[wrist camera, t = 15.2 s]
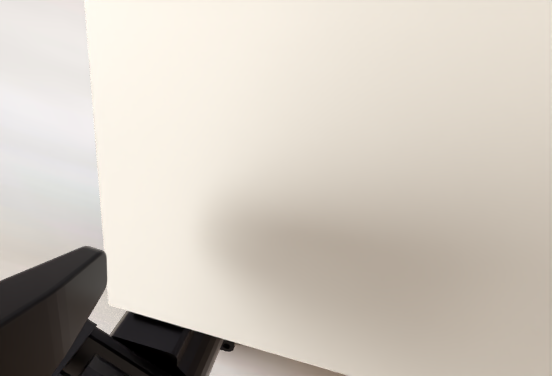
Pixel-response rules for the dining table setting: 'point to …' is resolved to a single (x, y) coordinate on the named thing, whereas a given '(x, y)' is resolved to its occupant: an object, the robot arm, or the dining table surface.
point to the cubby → (332, 177)
